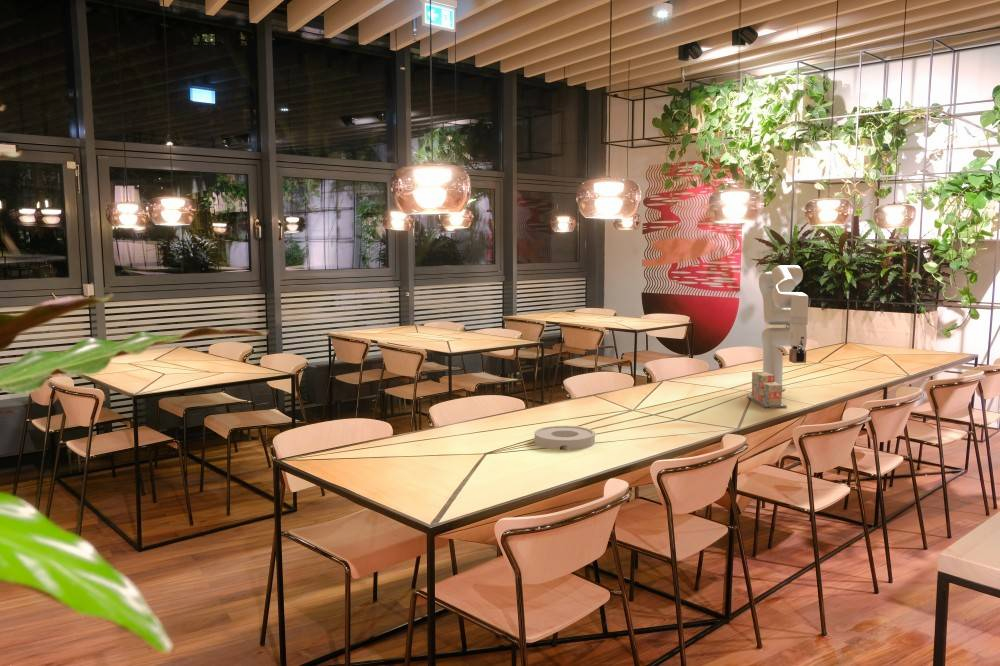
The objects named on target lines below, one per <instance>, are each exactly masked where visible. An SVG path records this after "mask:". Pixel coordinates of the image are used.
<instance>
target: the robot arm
mask: <svg viewBox="0 0 1000 666" xmlns="http://www.w3.org/2000/svg"><path fill="white" fill-rule="evenodd" d="M803 277H804V272H803V270H802V268H801V267H800V266H799V265H797V264H796V265H795V264H794V265H793V264H792V265H791V264H790V265H783V264H782V265H777V266H775V267H773V268H772V269H771V271H766V272H763V273H761V274H759V277H758V288H759V291H760V293H761V297H762V303H763V306H762V307H763V320H764V323H765V324H766V325H768V326H786V327H768V328H765V329H763V331H762V333H761V341H762V342H761V343H762V353H763V354H762V372H767V373H770V374H772V375H774V382H776V383H778V384H781V385H782V392H783V391H785V390H786V387H785V386H784V385H783V371H784V369H783V367H784V366H783V364H784V363H783V362H784V357H783V352H782V351H781V350H780V349H779V347H780V348H781V347H791V348H790V349H797V351H798V353H797V360H796V361H797V362H803V361H804V352H805V351H804V350H806V347H807V342H808V341H807V339H808V337H807V336H808V335H807V325H808V323H809V322H808V320H809V319H808V318H809V317H808V316H809V296H808V294H806V293H804V292H801V291H800V292H798V291H796V292H794V291H793V290H795V288H796V286H798V285H799V284H800V283H801V282H802V280H803Z"/></svg>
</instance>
